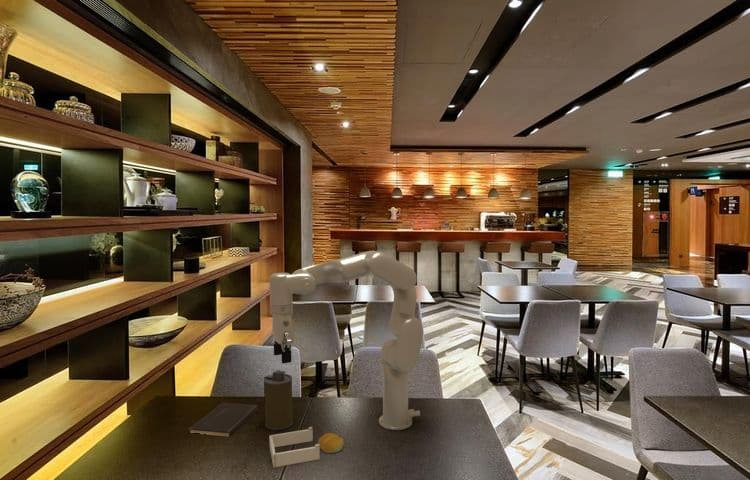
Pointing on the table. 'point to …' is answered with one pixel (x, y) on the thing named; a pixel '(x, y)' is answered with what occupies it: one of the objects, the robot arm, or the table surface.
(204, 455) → the table surface
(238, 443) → the table surface
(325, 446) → the bread roll
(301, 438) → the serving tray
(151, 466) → the table surface
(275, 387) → the canister
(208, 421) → the hardcover book
